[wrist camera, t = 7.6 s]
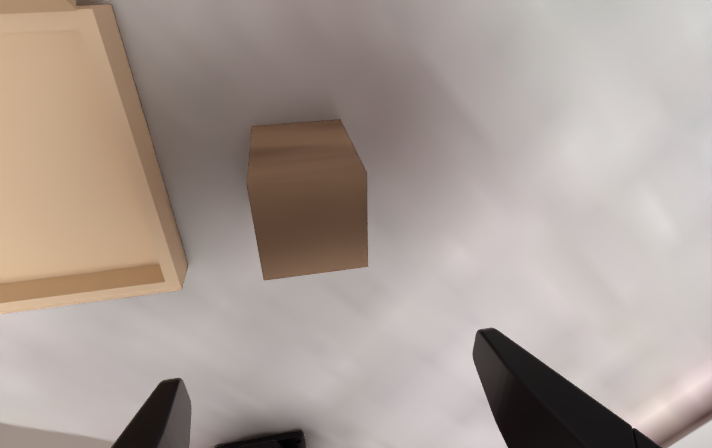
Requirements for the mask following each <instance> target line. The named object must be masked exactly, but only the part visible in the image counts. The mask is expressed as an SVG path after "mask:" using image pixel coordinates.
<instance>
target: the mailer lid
mask: <svg viewBox="0 0 712 448" xmlns="http://www.w3.org/2000/svg"><path fill="white" fill-rule="evenodd" d="M59 11H77V7H76V0H0V14H9V13H34V12H59Z"/></svg>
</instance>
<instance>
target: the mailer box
mask: <svg viewBox="0 0 712 448" xmlns="http://www.w3.org/2000/svg"><path fill="white" fill-rule="evenodd" d="M76 7H77V11H59V12H34V13H9V14H0V314H4V313H12V312H19V311H27V310H34V309H42V308H49V307H57V306H65V305H72V304H80V303H87V302H95V301H102V300H110V299H117V298H125V297H132V296H140V295H147V294H155V293H162V292H170V291H177V290H182V287H183V283H184V279H185V276H186V272H187V268H188V262H187V259H186V256H185V252H184V249H183V245H182V242H181V239H180V235H179V232H178V229H177V225H176V222H175V218H174V215H173V212H172V208H171V205H170V202H169V198H168V195H167V191H166V188H165V185H164V181H163V178H162V174H161V171H160V168H159V164H158V161H157V158H156V154H155V151H154V147H153V144H152V141H151V137H150V134H149V131H148V127H147V124H146V120H145V117H144V114H143V110H142V107H141V103H140V100H139V97H138V93H137V90H136V87H135V83H134V80H133V76H132V73H131V70H130V66H129V63H128V60H127V56H126V53H125V49H124V46H123V43H122V39H121V36H120V33H119V29H118V26H117V22H116V19H115V16H114V12H113V9H112V5H111V4H106V5H80V6H76Z"/></svg>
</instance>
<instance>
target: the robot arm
mask: <svg viewBox="0 0 712 448" xmlns="http://www.w3.org/2000/svg"><path fill="white" fill-rule="evenodd" d="M473 360H474V364H475V366H476V369H477V372H478V375H479V377H480V380H481V383H482V386H483V389H484V391H485V394H486V397H487V400H488V402H489V405H490V408H491V411H492V413H493V416H494V419H495V421H496V423H497V426H498V428H499V430H500V432H501V434H502V436H503V438H504V440H505V442H506V445H507V447H508V448H662V447H661V446H660V445H658V444H657V443H655V442H654V441H652V440H651V439H649V438H648V437H647V436H645V435H644V434H642V433H641V432H640V431H638V430H637V429H635V428H633V429H632V426H631V425H630V424H628V423H627V422H625V421H624V420H623V419H621V418H620V417H618V416H617V415H616V414H614V413H613V412H611V411H610V410H609V409H607V408H606V407H604V406H603V405H602V404H600V403H599V402H597V401H596V400H595V399H593V398H592V397H590V396H589V395H588V394H586V393H585V392H583V391H582V390H581V389H579V388H578V387H576V386H575V385H574V384H572V383H571V382H569V381H568V380H567V379H565V378H564V377H562V376H561V375H560V374H558V373H557V372H555V371H554V370H553V369H551V368H550V367H548V366H547V365H546V364H544V363H543V362H541V361H540V360H539V359H537V358H536V357H534V356H533V355H532V354H530V353H529V352H527V351H526V350H525V349H523V348H522V347H520V346H519V345H518V344H516V343H515V342H513V341H512V340H511V339H509V338H508V337H506V336H505V335H504V334H502V333H501V332H499V331H498V330H497V329H495V328H486V329H480V330H478V331H477V332H476V336H475V342H474V348H473ZM190 425H191V401H190V398H189V395H188V392H187V390H186V387H185V384H184V382H183V380H182V379H181V378H174V379H168V380H163V381H162V382H160V383H159V385H158V386H157V387H156V389H155V390H154V391H153V393H152V394H151V395H150V397H149V398H148V399H147V401H146V402H145V403H144V405H143V406H142V407H141V408H140V410H139V411H138V412H137V414H136V415H135V416H134V418H133V419H132V420H131V422H130V423H129V424H128V426H127V427H126V428H125V430H124V431H123V432H122V434H121V435H120V436H119V438H118V439H117V440H116V442H115V443H114V444H113V446H112V447H111V448H189V442H190ZM216 448H306V442H305V436H304V433H302V432H295V433H289V434H284V435H279V436H273V437H268V438H263V439H257V440H252V441H247V442H241V443H236V444H230V445H225V446H220V447H216Z"/></svg>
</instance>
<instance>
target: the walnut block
mask: <svg viewBox="0 0 712 448" xmlns="http://www.w3.org/2000/svg"><path fill="white" fill-rule="evenodd" d="M247 190H248V195H249V201H250V206H251V212H252V217H253V223H254V229H255V234H256V240H257V245H258V251H259V256H260V262H261V268H262V273H263V279H264V280H271V279H279V278H286V277H294V276H301V275H309V274H316V273H324V272H331V271H339V270H346V269H354V268H361V267H368V232H367V172H366V170H365V168H364V166H363V164H362V162H361V160H360V158H359V156H358V154H357V152H356V150H355V148H354V146H353V144H352V142H351V140H350V138H349V136H348V134H347V132H346V130H345V128H344V126H343V124H342V122H341V120H340V119H339V120H327V121H314V122H302V123H289V124H277V125H265V126H252V129H251V140H250V152H249V163H248V175H247Z"/></svg>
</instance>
